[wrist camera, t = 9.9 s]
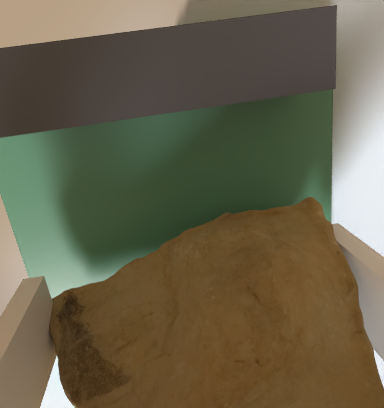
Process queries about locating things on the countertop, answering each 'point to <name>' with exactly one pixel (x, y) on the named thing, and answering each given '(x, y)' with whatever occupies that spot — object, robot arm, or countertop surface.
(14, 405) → the robot arm
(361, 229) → the countertop surface
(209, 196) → the socket board
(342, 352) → the rock
